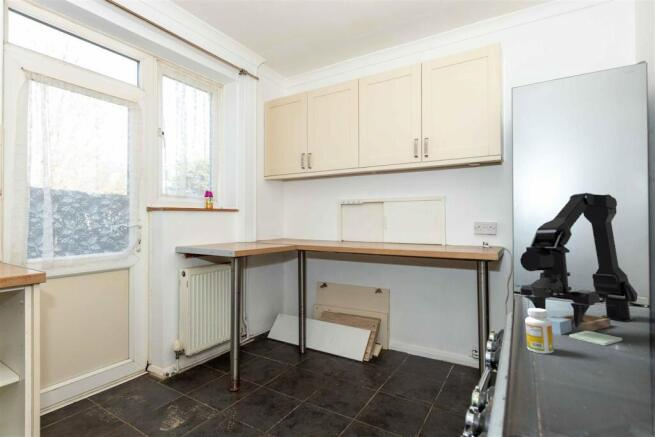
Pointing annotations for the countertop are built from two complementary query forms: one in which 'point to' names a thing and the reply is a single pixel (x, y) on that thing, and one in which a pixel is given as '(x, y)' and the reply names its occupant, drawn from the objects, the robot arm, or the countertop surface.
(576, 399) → the countertop surface
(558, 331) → the block
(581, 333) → the mat
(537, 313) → the supplement bottle
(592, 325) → the u-shaped frame
